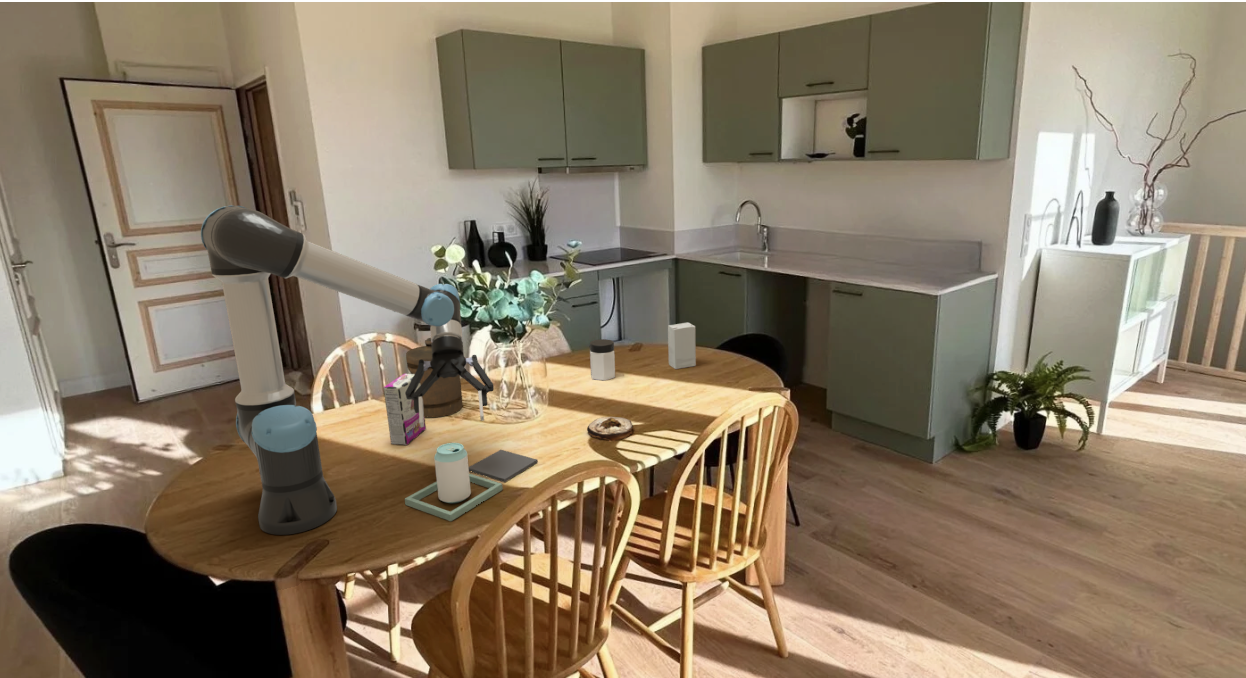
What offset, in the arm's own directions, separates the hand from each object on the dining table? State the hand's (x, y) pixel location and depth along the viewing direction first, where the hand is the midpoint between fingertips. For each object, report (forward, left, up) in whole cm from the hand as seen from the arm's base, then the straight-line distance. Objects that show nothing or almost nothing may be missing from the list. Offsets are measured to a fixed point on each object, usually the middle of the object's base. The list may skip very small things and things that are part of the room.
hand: (452, 421), depth 160 cm
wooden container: (+30, +38, -14) cm, 51 cm away
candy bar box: (+11, +29, -14) cm, 35 cm away
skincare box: (+102, -7, -14) cm, 103 cm away
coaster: (+10, -6, -14) cm, 18 cm away
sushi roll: (+41, -17, -15) cm, 46 cm away
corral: (-7, -7, -14) cm, 17 cm away
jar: (+79, +11, -14) cm, 81 cm away
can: (-7, -7, -14) cm, 17 cm away
